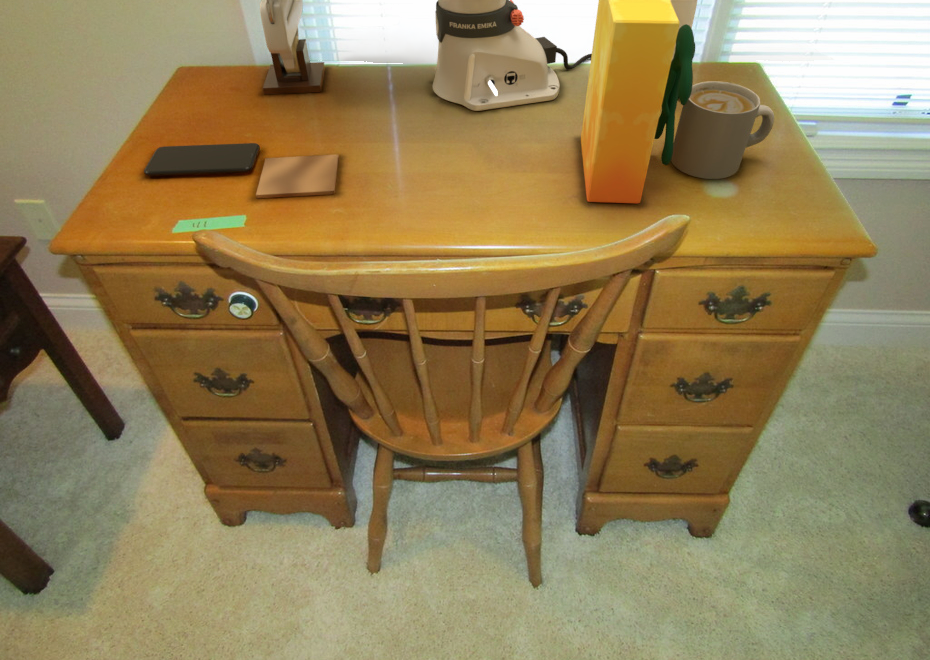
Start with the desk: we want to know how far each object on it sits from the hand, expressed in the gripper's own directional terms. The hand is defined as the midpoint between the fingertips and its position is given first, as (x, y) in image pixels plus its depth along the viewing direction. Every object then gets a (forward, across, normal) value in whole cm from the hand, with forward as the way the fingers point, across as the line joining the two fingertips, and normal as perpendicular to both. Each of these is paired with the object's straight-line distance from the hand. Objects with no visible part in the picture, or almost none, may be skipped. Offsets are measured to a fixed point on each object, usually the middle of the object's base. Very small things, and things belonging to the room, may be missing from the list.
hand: (292, 58), depth 113 cm
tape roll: (+2, 0, 0) cm, 2 cm away
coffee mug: (+5, -35, -66) cm, 75 cm away
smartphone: (+4, -28, +11) cm, 30 cm away
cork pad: (+4, -33, -4) cm, 34 cm away
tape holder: (+4, 0, 0) cm, 4 cm away
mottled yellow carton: (+5, -36, -52) cm, 63 cm away
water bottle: (+5, -11, -64) cm, 65 cm away
